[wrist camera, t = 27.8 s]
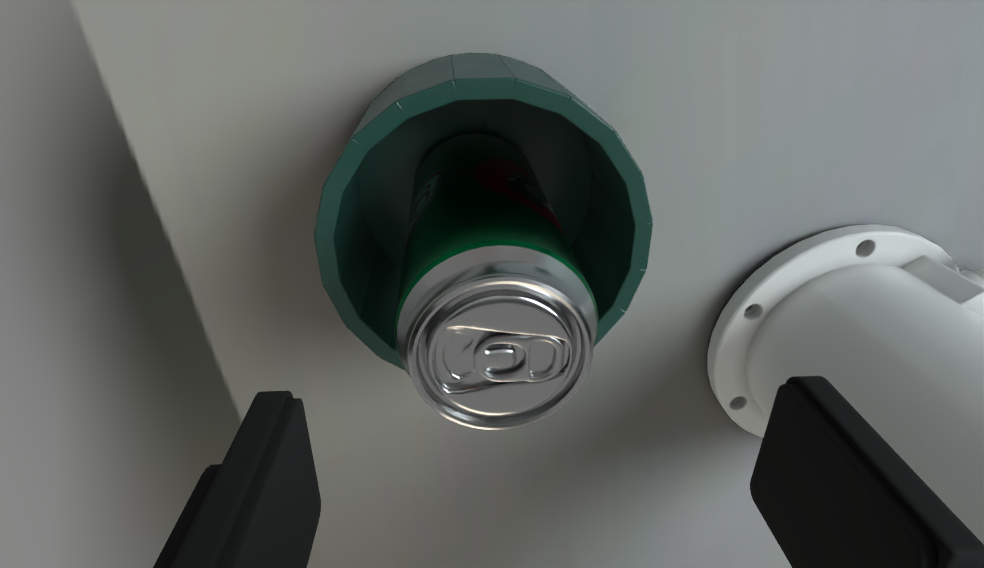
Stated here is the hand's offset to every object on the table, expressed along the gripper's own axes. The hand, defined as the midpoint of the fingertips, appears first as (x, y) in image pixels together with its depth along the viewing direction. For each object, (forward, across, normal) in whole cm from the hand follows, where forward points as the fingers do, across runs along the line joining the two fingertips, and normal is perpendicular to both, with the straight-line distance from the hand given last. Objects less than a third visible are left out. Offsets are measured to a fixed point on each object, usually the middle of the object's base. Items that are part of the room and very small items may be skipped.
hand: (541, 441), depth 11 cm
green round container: (+15, +1, 0) cm, 15 cm away
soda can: (+14, +1, 0) cm, 15 cm away
